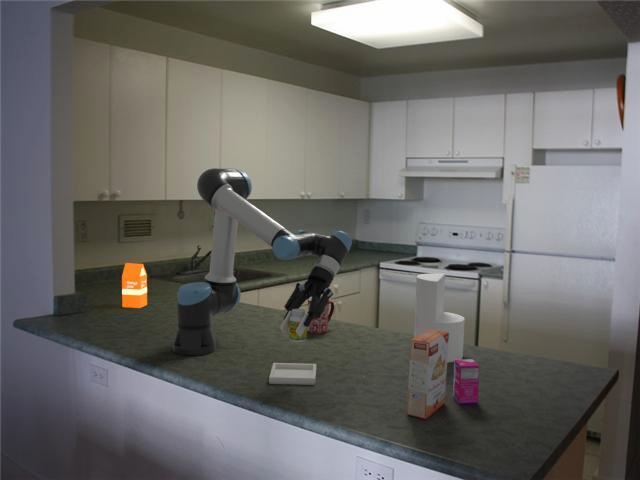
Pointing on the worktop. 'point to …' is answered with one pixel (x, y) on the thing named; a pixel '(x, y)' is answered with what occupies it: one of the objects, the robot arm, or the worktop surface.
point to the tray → (293, 374)
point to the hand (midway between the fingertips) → (290, 332)
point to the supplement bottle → (296, 326)
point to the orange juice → (134, 286)
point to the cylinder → (437, 313)
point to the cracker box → (427, 373)
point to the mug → (321, 319)
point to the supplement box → (466, 382)
